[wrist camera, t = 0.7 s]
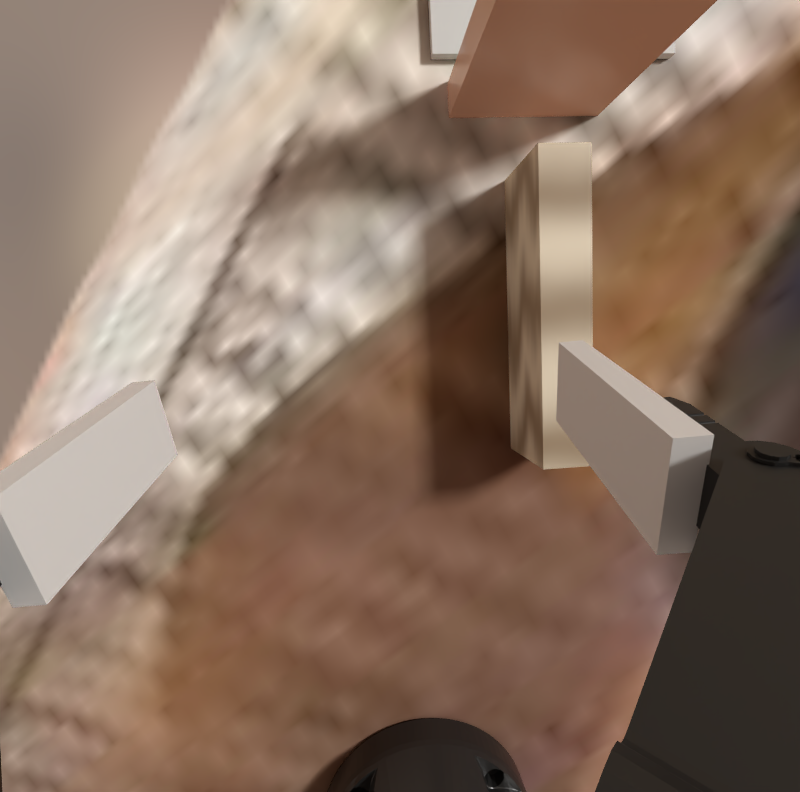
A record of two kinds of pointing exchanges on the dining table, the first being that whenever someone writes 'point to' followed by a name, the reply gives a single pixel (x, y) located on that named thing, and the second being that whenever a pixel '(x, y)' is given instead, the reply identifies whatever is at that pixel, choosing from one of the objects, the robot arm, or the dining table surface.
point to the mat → (463, 28)
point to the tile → (560, 54)
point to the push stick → (547, 290)
